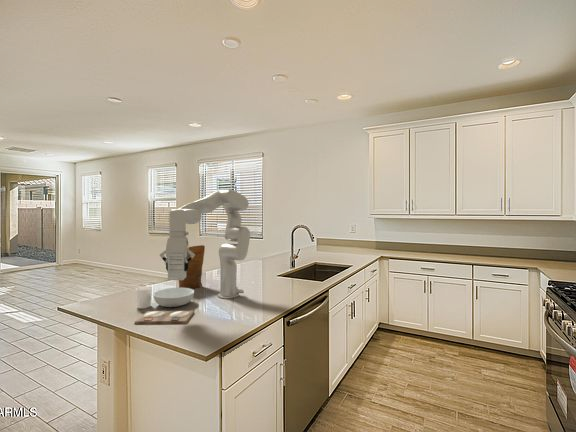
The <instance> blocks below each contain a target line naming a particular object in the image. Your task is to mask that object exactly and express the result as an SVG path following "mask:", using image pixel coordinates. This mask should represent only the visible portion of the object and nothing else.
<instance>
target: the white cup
mask: <svg viewBox="0 0 576 432" xmlns="http://www.w3.org/2000/svg"><path fill="white" fill-rule="evenodd" d="M152 292H153V286H151V285H144V286H139V287H136V288H135V302H136V308H137V309H147V308H150V307H151V305H152V296H153V293H152Z"/></svg>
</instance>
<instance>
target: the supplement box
mask: <svg viewBox="0 0 576 432" xmlns="http://www.w3.org/2000/svg"><path fill="white" fill-rule="evenodd" d="M184 263H185V261H184V254H168V271H167V280H168V281H179V280H184V279H185V278H186V271H184Z"/></svg>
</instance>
